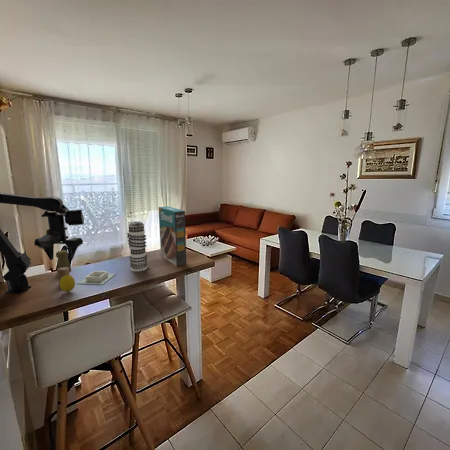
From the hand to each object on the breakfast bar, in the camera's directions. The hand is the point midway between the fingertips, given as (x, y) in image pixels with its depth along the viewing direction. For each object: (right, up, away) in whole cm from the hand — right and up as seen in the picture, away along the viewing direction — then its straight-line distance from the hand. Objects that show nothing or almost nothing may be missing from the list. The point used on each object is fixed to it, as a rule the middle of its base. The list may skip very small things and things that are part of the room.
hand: (61, 260), depth 111 cm
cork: (-9, -8, +16) cm, 20 cm away
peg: (0, -11, +2) cm, 11 cm away
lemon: (+7, -13, -6) cm, 16 cm away
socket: (+12, -10, +7) cm, 18 cm away
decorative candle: (+28, -7, +21) cm, 35 cm away
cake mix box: (+43, -5, +34) cm, 55 cm away
